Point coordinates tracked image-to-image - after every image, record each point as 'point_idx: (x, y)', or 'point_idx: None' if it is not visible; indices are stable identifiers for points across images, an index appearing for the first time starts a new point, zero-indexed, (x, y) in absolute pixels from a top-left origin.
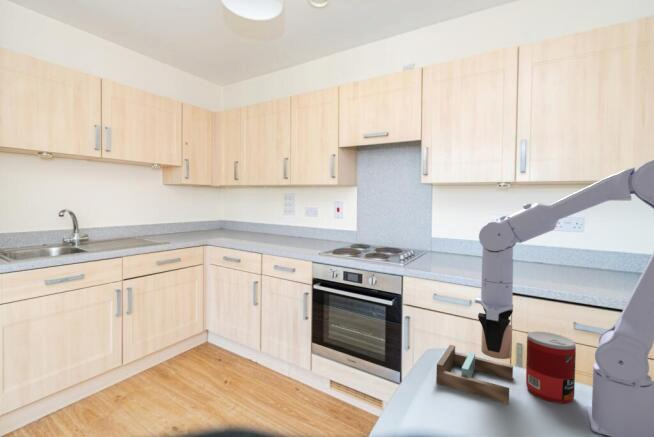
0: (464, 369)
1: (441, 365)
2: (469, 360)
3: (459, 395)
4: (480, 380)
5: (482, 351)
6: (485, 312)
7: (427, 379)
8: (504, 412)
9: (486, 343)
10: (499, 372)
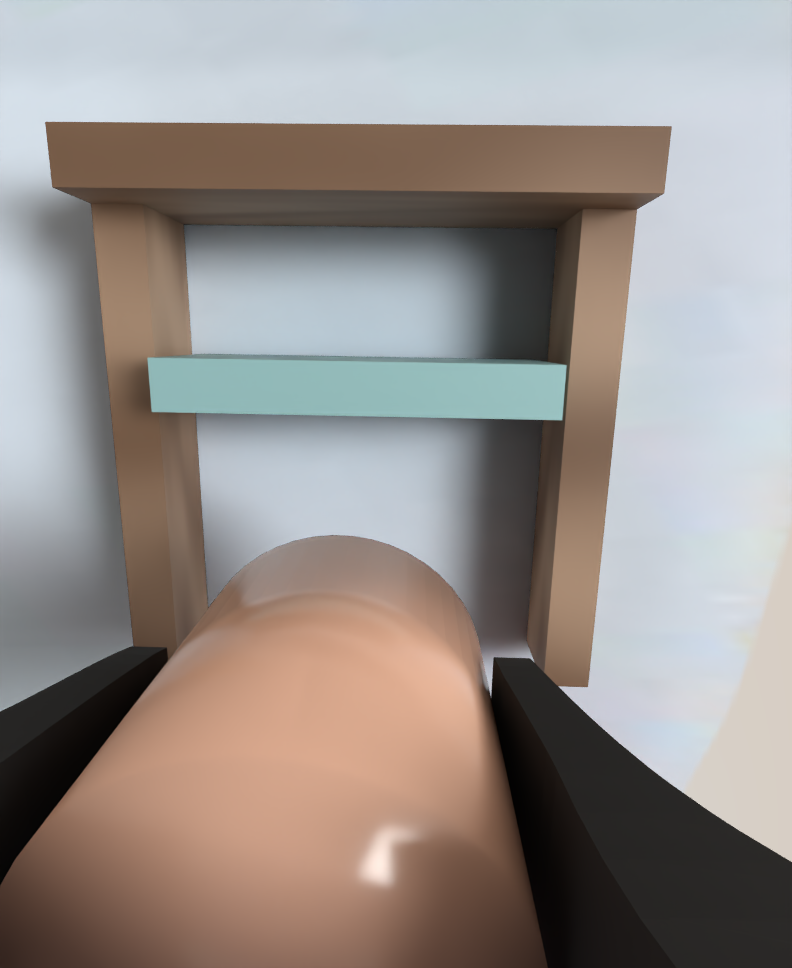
0: (150, 382)
1: (55, 175)
2: (360, 394)
3: (78, 364)
4: (163, 499)
5: (265, 556)
6: (656, 940)
7: (150, 92)
8: (67, 613)
9: (71, 677)
10: (537, 576)
